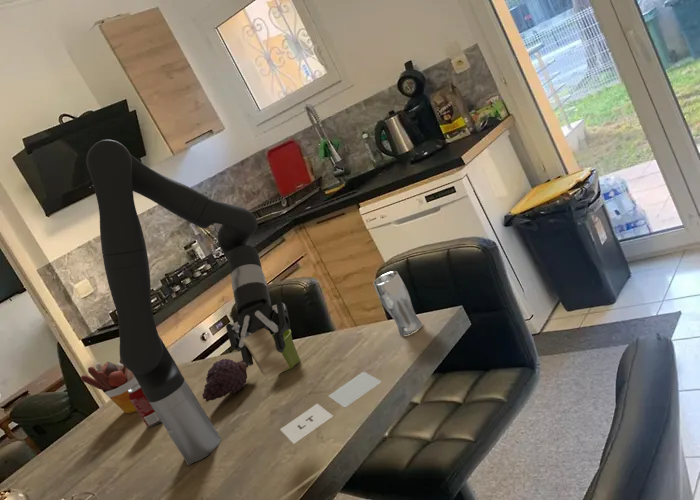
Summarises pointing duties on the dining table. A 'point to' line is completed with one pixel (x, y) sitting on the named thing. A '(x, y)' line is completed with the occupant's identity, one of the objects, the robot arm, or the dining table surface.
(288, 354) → the plant pot
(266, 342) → the beech block
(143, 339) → the robot arm
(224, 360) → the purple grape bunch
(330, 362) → the dining table surface
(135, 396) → the soda can
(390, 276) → the beer glass
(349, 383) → the rest pad
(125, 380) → the bucket of meat
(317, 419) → the tile
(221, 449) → the dining table surface
